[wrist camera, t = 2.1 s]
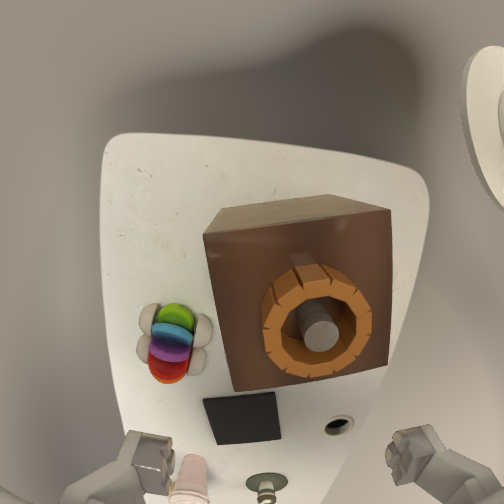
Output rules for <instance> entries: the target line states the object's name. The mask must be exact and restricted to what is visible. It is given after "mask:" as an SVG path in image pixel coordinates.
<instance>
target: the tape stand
mask: <svg viewBox="0 0 504 504" xmlns="http://www.w3.org/2000/svg"><path fill="white" fill-rule="evenodd" d="M203 240H204V246H205V252H206V257H207V263H208V269H209V274H210V279H211V285H212V290H213V295H214V300H215V305H216V310H217V315H218V320H219V325H220V330H221V335H222V340H223V344H224V349H225V354H226V358H227V363H228V367H229V372H230V376H231V381H232V385H233V389H234V392H243V391H252V390H260V389H268V388H276V387H283V386H289V385H296V384H302V383H308V382H313V381H319V380H324V379H329V378H334V377H339V376H344V375H349V374H353V373H358V372H362V371H366V370H370V369H374V368H378V367H382V366H386V365H388V355H389V344H390V330H391V312H392V275H393V262H392V225H391V210H390V209H386V208H382V207H379V206H375V205H371V204H367V203H363V202H359V201H355V200H351V199H347V198H343V197H339V196H334V195H321V196H312V197H304V198H295V199H287V200H280V201H272V202H264V203H257V204H250V205H243V206H236V207H229V208H222V209H221V210H220V212H219V213H218V214H217V216H216V217H215V218H214V220H213V221H212V222H211V224H210V225H209V226H208V228H207V229H206V231H205V232H204V233H203ZM311 264H319V266H321V264H323V265H326V266H328V267H330V268H333V269H335V270H338V271H340V272H342V274H344V275H345V276H346V277H347V278H348V279H349V280H350V281H351V282H352V283H353V284H354V285H355V286H356V287H357V288H358V289H359V290H360V292H361V293H362V295H363V297H364V298H365V300H366V301H367V303H368V304H369V306H370V307H371V309H370V310H371V311H372V326H371V334H368V335H369V336H370V338H369V339H368V341H367V343H366V345H365V346H364V348H363V350H362V351H361V353H360V355H359V356H356V355H354V356H355V358H356V359H355V360H354V361H353V362H351V363H350V364H348V365H347V366H345V367H344V368H342V369H341V370H339V371H338V372H335V370H334V369H333V374H329V375H324V376H319V377H313V378H310V377H309V375H308V376H307V378H304V377H301V376H297V375H293V374H290V373H286V372H285V370H281V369H280V368H279V367H278V366H277V365H276V364H275V363H274V362H273V361H272V360H271V359H270V358H269V357H268V355H267V352H266V351H265V344H264V337H263V330H262V321H261V312H260V309H261V304H262V301H263V299H264V297H265V295H266V293H267V290H268V288H269V286H273V281H275V280H276V279H278V278H279V277H280V276H282V275H283V274H284V273H286V272H287V271H288V270H290V269H292V270H293V271H294V272H295V267H297V266H304V265H311ZM341 316H342V301H341V300H338V299H335V298H333V297H330V296H325V297H319V298H312V299H307V300H305V301H304V302H302V303H301V304H300V305H298V306H297V307H296V308H294V309H293V310H291V311H290V312H289V314H288V316H287V318H286V320H285V322H284V324H283V326H282V328H281V329H282V330H283V331H284V332H285V334H286V335H287V336H288V337H291V338H294V339H297V340H300V341H303V342H305V345H306V346H307V347H308V348H309V349H310V350H312V351H315V352H323V351H326V350H328V349H330V348H332V347H333V346H334V345H335V343H336V342H337V340H338V337H339V331H338V328H337V326H336V325H337V324H338V322H339V320H340V318H341Z"/></svg>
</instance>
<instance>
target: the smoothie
mask: <svg viewBox="0 0 504 504" xmlns="http://www.w3.org/2000/svg"><path fill="white" fill-rule="evenodd" d="M168 501H169V503H170V504H210V500H209V498H208V492H207V476H206V461H205V459H204V458H203V457H201V456H198V455H187V456H186V457H185V458H184V461H183V463H182V466H181V469H180V472H179V474H178V477H177V480H176V483H175V485H174V488H173V491H172V492H171V493H170V494H169V499H168Z"/></svg>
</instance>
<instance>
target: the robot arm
mask: <svg viewBox="0 0 504 504" xmlns="http://www.w3.org/2000/svg"><path fill="white" fill-rule="evenodd" d="M499 124H500V131H501V135H502V139H503V143H504V91H503V92H502V95H501V98H500V102H499ZM392 439H393V441H392V442H391V443H390V444H389V445H388V446H387V449H386V452H385V459H386V463H387V466H388V467H390V468H392V469H393V471H392V473H391V475H392V477H393V480H394V482H395V484H396V486H399V485H403V484H407V483H411V482H415V483H416V484H417V485H418V486H420V487H421V488H422V489H424V490H425V491H426V492H428V493H429V494H430V495H432V496H433V497H435V498H436V499H437V500H439V501H440V502H441V503H443V504H504V487H502V486H501V484H500V483H499V481H498V480H497V478H496V477H495V475H494V473H493V472H492V470H491V469H490V468H488V467H486V466H484V465H481V464H479V463H477V462H475V461H473V460H471V459H469V458H467V457H465V456H463V455H461V454H459V453H457V452H454V451H453V450H451V449H448V450H447V449H446V447H445V446H444V444H443V443H442V441H441V440H440V438H439V436H438V435H437V433H436V432H435V430H434V429H433V427H432V426H431V425H429V424H427V425H423V426H419V427H414V428H409V429H405V430H400V431H396V432H395V433H394V434H393V437H392ZM172 444H173V443H172V438H171V437H165V436H160V435H154V434H149V433H144V432H138V431H133V430H130V431H129V432H128V433H127V435H126V437H125V440H124V442H123V445H122V447H121V450H120V452H119V454H118V457H117V459H116V462H115V461H111V462H109V463H108V464H106V465H104V466H103V467H101V468H99V469H98V470H96V471H94V472H92V473H91V474H89V475H87V476H86V477H84V478H82V479H80V480H79V481H77V482H75V483H73V484H71V485H70V486H68V487H66V488H65V490H64V492H63V494H62V496H61V498H60V500H59V502H58V504H134V503H135V502H136V501H137V500H139V499H140V498H141V497H142V496H143V495H144V494H145V493H151V494H157V495H164V496H168V495H169V491H170V486H171V479H170V475H172V474H173V472H174V467H175V453H174V450H173V449H171V448H172ZM0 504H32V503H30V502H28V501H27V500H25V499H23V498H21V497H19V496H17V495H15V494H13V493H12V492H10V491H8V490H6V489H5V488H3V487H1V486H0Z"/></svg>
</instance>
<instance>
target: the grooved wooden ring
mask: <svg viewBox="0 0 504 504" xmlns="http://www.w3.org/2000/svg"><path fill="white" fill-rule="evenodd" d="M325 296H330V297H333V298H335V299H338V300H341V301H342V316H341V318H340V320H339V322H338V324H337V325H336V326H337V328H338V331H339V337H338V340H337V342H336V343H335V345H334V346H333V347H332V348H330V349H328V350H326V351H323V352H315V351H312V350H310V349H309V348H308V347H307V346H306V345H305V342H303V341H300V340H297V339H294V338H291V337H288V336H287V335H286V334H285V332H284V331H283V330H282V329H281V328H282V326H283V324H284V322H285V320H286V318H287V316H288V314H289V312H290V311H291V310H293V309H294V308H296V307H297V306H298V305H300V304H301V303H302V302H304V301H305V300H307V299H312V298H319V297H325ZM370 309H371V307H370V306H369V304H368V303H367V301H366V300H365V298H364V297H363V295H362V293H361V292H360V290H359V289H358V288H357V287H356V286H355V285H354V284H353V283H352V282H351V281H350V280H349V279H348V278H347V277H346V276H345V275H344V274H342V272H340V271H338V270H335V269H333V268H330V267H328V266H326V265H323V264H321V266H319V264H311V265H304V266H297V267H295V272H294V271H293V270H292V269H290V270H288V271H287V272H286V273H284V274H283V275H282V276H280V277H279V278H278V279H276V280H275V281H273V286H269V288H268V290H267V293H266V295H265V297H264V299H263V301H262V304H261V309H260V312H261V321H262V330H263V337H264V344H265V351H266V352H267V355H268V357H269V358H270V359H271V360H272V361H273V362H274V363H275V364H276V365H277V366H278V367H279V368H280V369H281V370H285V372H286V373H290V374H293V375H297V376H301V377H304V378H307V376H308V375H309V377H310V378H313V377H319V376H324V375H329V374H333V369H334V370H335V372H338V371H339V370H341V369H342V368H344V367H345V366H347V365H348V364H350V363H351V362H353V361H354V360H355V359H356V358H355V356H354V355H356V356H359V355H360V353H361V351H362V350H363V348H364V346H365V345H366V343H367V341H368V339H369V338H370V336H369V335H368V334H371V326H372V311H371V310H370Z"/></svg>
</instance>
